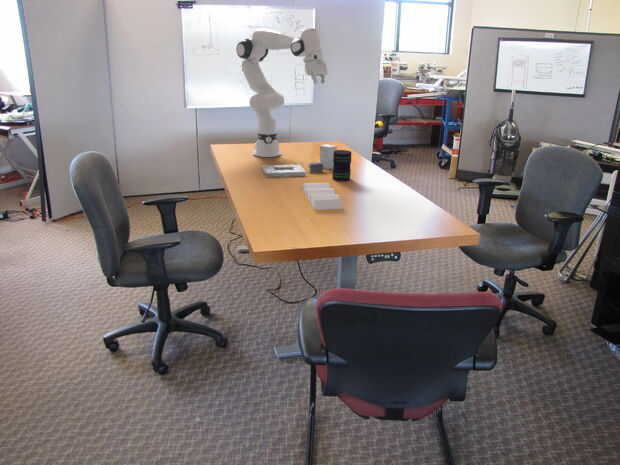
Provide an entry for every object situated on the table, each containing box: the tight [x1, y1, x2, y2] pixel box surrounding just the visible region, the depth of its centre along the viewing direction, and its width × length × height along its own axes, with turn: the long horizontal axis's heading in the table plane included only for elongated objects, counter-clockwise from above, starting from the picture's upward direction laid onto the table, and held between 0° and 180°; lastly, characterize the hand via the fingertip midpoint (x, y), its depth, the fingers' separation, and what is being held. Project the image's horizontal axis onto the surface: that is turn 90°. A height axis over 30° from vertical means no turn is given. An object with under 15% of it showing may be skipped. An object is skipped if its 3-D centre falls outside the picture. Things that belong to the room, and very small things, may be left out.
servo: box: [307, 160, 325, 174], centre depth 292 cm, size 4×10×6 cm, turn 102°
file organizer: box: [301, 182, 344, 211], centre depth 244 cm, size 13×35×5 cm, turn 10°
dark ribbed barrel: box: [331, 149, 352, 182], centre depth 276 cm, size 10×10×15 cm
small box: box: [319, 143, 338, 170], centre depth 301 cm, size 8×6×13 cm
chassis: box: [261, 164, 307, 178], centre depth 288 cm, size 18×22×2 cm
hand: (319, 83), depth 288 cm, fingers open, 8 cm apart
